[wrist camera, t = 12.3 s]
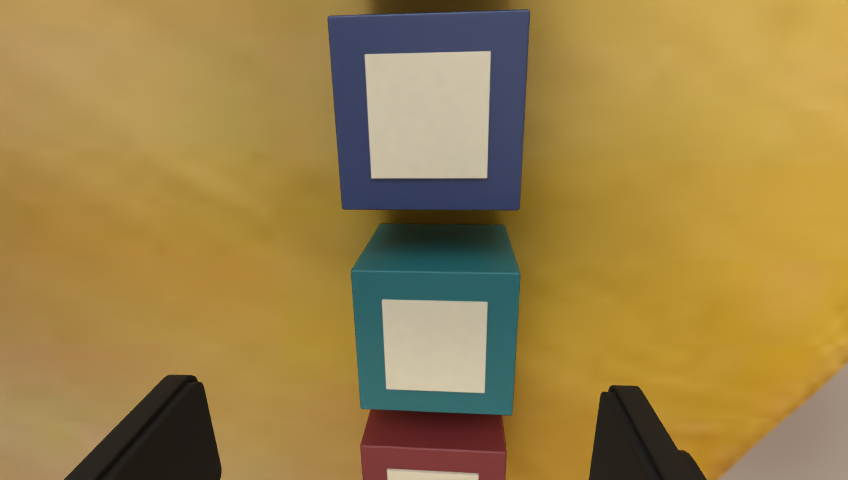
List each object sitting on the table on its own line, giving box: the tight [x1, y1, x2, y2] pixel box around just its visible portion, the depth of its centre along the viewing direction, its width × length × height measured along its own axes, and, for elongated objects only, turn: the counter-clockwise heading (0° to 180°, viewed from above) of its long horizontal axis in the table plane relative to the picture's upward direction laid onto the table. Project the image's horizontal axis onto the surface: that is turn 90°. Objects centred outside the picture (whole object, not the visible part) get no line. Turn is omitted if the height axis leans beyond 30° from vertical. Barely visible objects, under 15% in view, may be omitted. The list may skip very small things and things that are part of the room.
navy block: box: [328, 9, 530, 210], centre depth 15 cm, size 5×5×6 cm
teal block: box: [351, 224, 520, 415], centre depth 17 cm, size 5×5×6 cm
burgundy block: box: [360, 409, 507, 480], centre depth 20 cm, size 5×5×6 cm
